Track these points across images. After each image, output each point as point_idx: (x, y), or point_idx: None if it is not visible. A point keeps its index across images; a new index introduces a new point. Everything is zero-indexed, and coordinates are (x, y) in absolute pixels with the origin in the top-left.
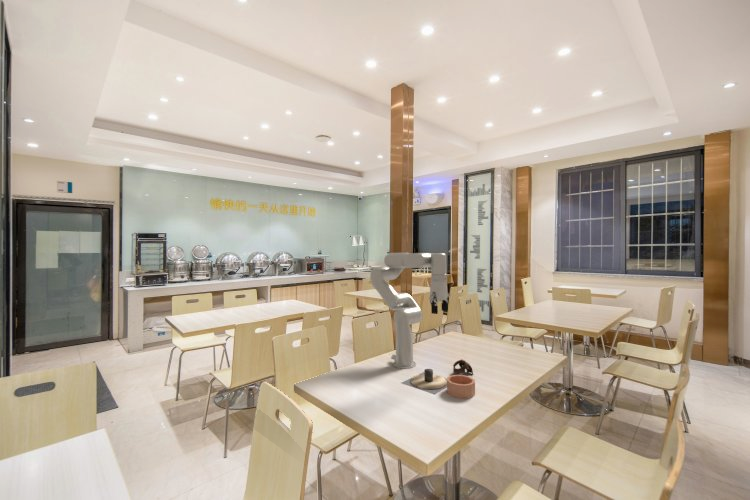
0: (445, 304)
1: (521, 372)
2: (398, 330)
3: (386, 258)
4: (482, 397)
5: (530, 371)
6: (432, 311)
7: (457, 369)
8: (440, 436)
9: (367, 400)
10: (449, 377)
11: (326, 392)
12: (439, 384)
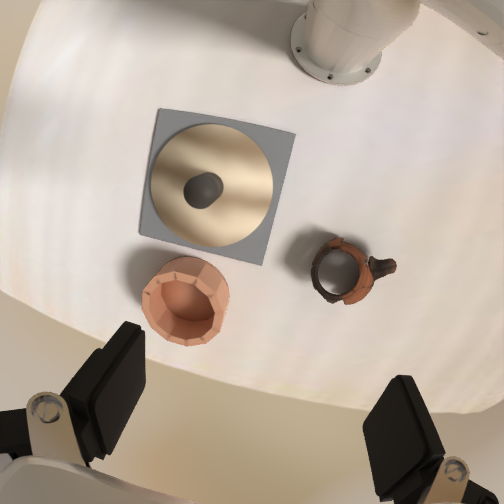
0: (385, 477)
1: None
2: None
3: None
4: None
5: None
6: (98, 351)
7: (313, 266)
8: (33, 291)
9: (47, 104)
10: (179, 277)
11: (51, 12)
12: (196, 229)
